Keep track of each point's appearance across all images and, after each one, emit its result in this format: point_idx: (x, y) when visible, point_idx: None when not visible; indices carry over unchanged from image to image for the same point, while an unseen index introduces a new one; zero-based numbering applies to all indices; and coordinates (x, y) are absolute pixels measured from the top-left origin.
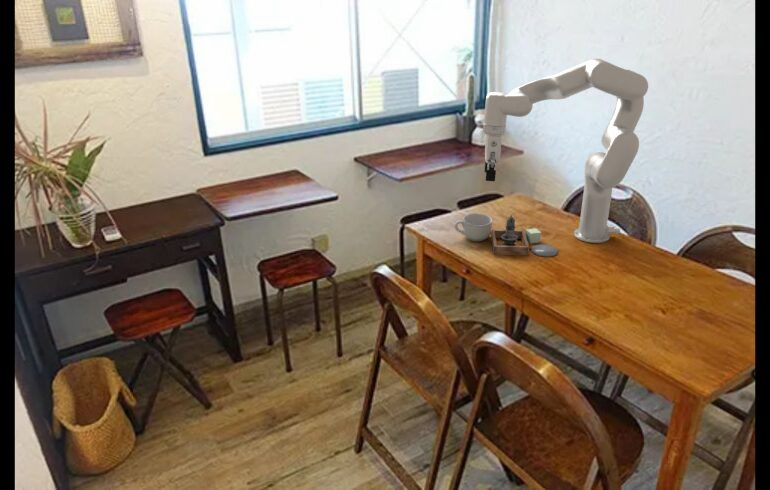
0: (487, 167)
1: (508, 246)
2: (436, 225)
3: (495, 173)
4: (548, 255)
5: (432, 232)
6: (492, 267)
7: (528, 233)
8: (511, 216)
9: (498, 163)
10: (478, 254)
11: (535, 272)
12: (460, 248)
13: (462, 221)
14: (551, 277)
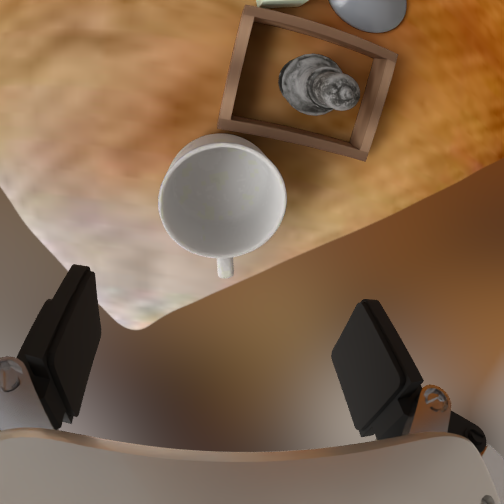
0: (86, 358)
1: (377, 115)
2: (116, 276)
3: (407, 354)
4: (405, 5)
5: (167, 291)
6: (420, 181)
7: (284, 1)
8: (352, 94)
9: (459, 438)
10: (343, 195)
11: (467, 90)
12: (291, 236)
13: (228, 259)
14: (490, 70)
